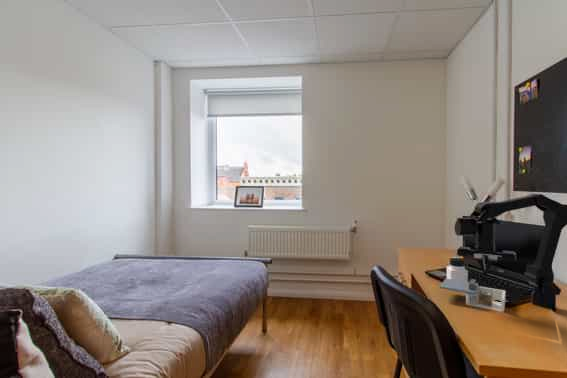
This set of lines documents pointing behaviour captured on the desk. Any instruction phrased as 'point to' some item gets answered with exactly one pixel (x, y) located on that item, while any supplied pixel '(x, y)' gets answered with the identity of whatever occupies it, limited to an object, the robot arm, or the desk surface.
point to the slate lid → (460, 285)
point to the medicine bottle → (457, 269)
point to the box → (496, 295)
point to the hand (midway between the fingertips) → (485, 276)
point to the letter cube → (485, 298)
